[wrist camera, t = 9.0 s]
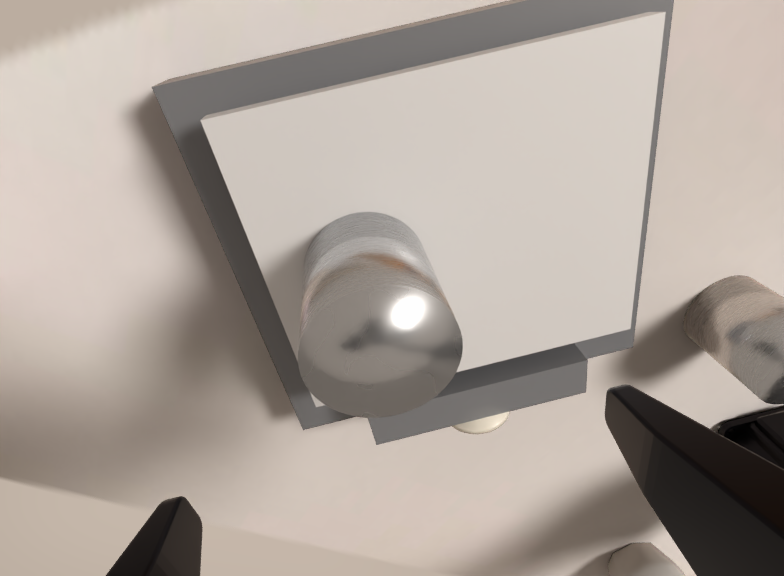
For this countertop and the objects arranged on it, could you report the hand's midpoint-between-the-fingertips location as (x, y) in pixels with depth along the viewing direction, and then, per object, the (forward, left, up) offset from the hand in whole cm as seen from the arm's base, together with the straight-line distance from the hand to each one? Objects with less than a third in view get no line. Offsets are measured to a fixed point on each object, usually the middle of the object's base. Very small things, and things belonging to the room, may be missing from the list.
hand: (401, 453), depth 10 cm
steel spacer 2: (-10, -19, -12) cm, 24 cm away
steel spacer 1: (0, 0, -8) cm, 8 cm away
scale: (-1, -4, -12) cm, 12 cm away
